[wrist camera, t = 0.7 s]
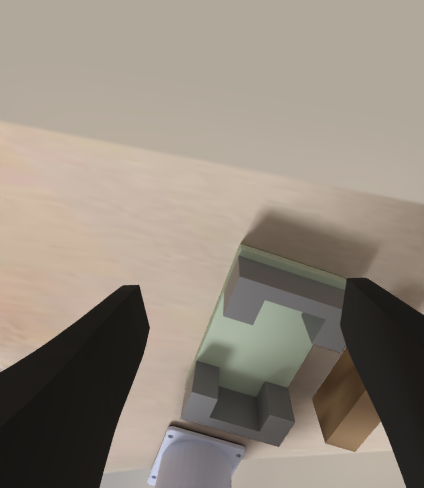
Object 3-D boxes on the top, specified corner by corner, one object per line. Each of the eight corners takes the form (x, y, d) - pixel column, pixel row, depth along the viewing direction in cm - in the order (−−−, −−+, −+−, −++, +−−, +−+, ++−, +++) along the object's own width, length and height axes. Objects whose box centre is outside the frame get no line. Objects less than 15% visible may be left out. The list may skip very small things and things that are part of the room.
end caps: (273, 411, 25) (278, 446, 22) (186, 385, 24) (180, 418, 21) (345, 290, 20) (364, 316, 17) (238, 255, 19) (239, 276, 17)
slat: (337, 405, 26) (355, 451, 22) (311, 397, 25) (325, 443, 22) (399, 320, 22) (433, 359, 18) (369, 310, 22) (398, 347, 18)
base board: (269, 404, 26) (271, 415, 25) (186, 380, 25) (184, 389, 24) (343, 277, 21) (349, 284, 20) (240, 243, 20) (240, 249, 19)
